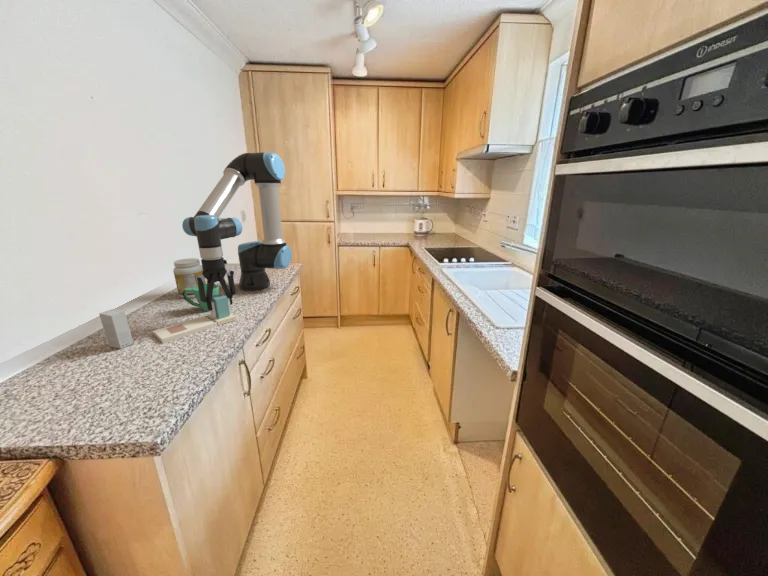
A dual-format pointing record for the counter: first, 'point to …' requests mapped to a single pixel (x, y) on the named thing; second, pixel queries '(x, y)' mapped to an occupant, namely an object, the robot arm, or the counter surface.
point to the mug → (196, 293)
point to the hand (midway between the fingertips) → (221, 314)
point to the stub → (221, 310)
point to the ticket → (184, 328)
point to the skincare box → (116, 328)
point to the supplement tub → (187, 275)
